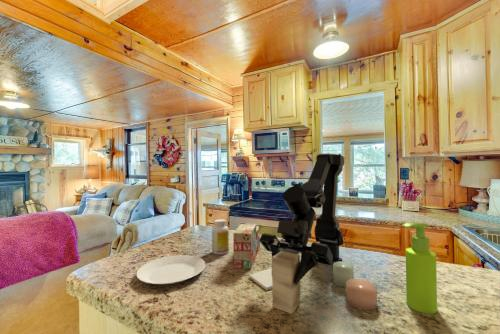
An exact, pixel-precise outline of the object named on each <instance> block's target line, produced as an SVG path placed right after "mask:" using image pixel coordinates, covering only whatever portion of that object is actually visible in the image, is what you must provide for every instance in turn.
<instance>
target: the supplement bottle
mask: <svg viewBox="0 0 500 334" xmlns="http://www.w3.org/2000/svg"><path fill="white" fill-rule="evenodd" d="M213 222H214V223H213V224H214V226H213V227H212V228H211V249H212V250H211V252H212V254H214V255H218V256H221V255H226V254H228V253H229V251H230V249H229V248H230V247H229V246H230V244H229V241H230V240H229V239H230V238H229V236H230V235H229V227H228V226H227V220H226V219H223V218H220V219H215V220H214V221H213Z"/></svg>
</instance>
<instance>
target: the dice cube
mask: <svg viewBox="0 0 500 334" xmlns="http://www.w3.org/2000/svg"><path fill="white" fill-rule="evenodd" d="M280 241H284V242H285V239H283V238H282V237H281V239H280ZM282 251H284V252H289V253H293V254H299V252H295V251H290V250H286V249H282Z"/></svg>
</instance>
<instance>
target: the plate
mask: <svg viewBox="0 0 500 334" xmlns="http://www.w3.org/2000/svg"><path fill="white" fill-rule="evenodd" d="M205 267H206V261H204V259H203V258H201V257H199V256H196V255H195V256H194V255H188V254H179V255H170V256H164V257H160V258H157V259H154V260H150V261H148V262H147V263H145V264H143V265H142V266H140V267H139V269H138V270H137V272H136V278H137V279H138V280H140V281H141V282H143V283H145V284H152V285H165V286H166V285H173V284H179V283H182V282H185V281H186V280H187V281H188V280H190V279H191V278H194V277H195V276H197V275H199V274H201V273H202V271H203V270H205Z"/></svg>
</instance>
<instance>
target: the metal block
mask: <svg viewBox="0 0 500 334" xmlns="http://www.w3.org/2000/svg"><path fill="white" fill-rule="evenodd" d="M300 261H301V254H299V253H296V254H293V253H289V252H284V251H281V252H279V253H278V254H276V255H274V256H273V257H272V256H271V268H272V289H271V290H272V308H276V309H278V310H281V311H283V312H286V313H288V314H293V313H294V312H295V310H296V309H297V308H298V307H299V306H300V305H301V280H300V281H299V282H298V283H297V285H296V284H294V279H295V275H296V272H297V269H298V266H299V263H300Z"/></svg>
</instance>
